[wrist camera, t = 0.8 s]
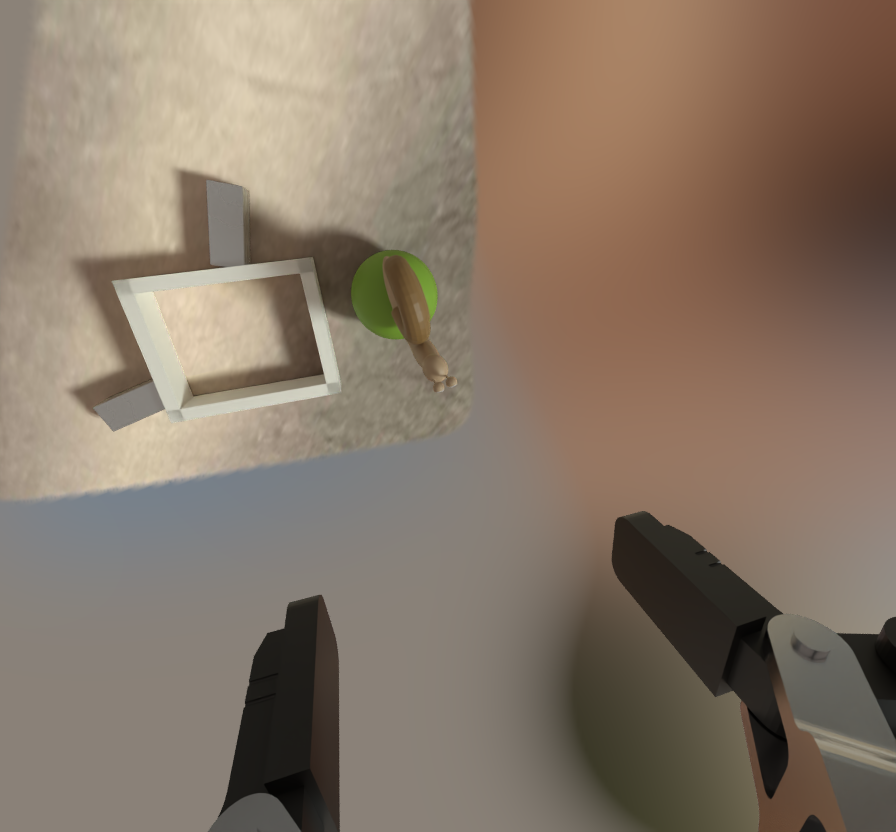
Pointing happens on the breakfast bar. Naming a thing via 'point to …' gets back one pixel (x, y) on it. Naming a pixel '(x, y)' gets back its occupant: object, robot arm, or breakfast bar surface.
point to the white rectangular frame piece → (227, 251)
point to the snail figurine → (401, 306)
